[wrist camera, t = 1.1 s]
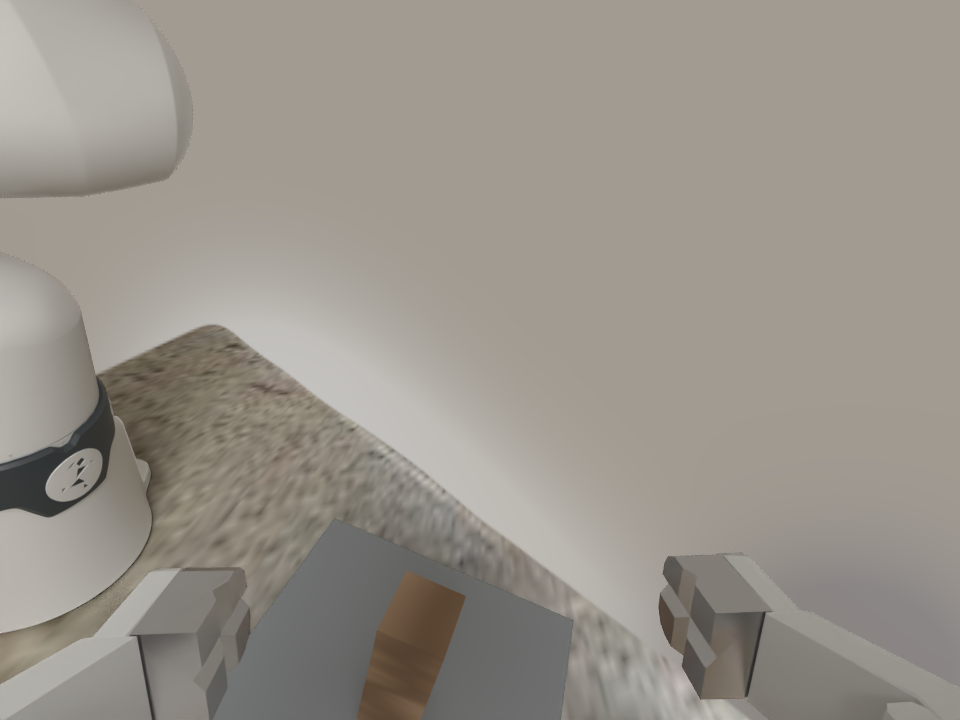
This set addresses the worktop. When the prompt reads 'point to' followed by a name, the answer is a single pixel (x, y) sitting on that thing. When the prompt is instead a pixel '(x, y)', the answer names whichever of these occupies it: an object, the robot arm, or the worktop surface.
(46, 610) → the robot arm
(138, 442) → the worktop surface
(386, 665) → the lid
